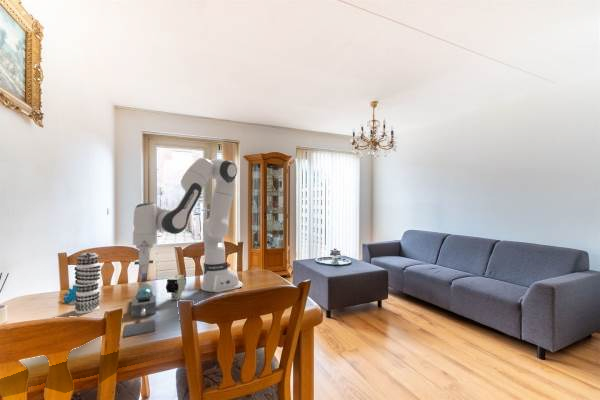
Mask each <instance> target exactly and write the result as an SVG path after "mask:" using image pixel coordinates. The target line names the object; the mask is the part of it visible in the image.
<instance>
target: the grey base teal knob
mask: <svg viewBox="0 0 600 400" xmlns="http://www.w3.org/2000/svg"><path fill="white" fill-rule="evenodd" d="M156 297H157V296H156V295H154V290H153V287H152V285H150V284H148V283H144V284H141V285H139V286H138V287H137V289H136V295H135V298H132V300H131V305H130V317H131V319H133V318H139V317H145V316H150V315H151V316H152V315H156V313H157V312H156V311H157V310H156V309H157V308H156V307H157V303H156V302H157V299H156Z"/></svg>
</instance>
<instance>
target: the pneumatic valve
mask: <svg viewBox="0 0 600 400" xmlns="http://www.w3.org/2000/svg"><path fill="white" fill-rule="evenodd" d="M186 286H187V278H186V275H185V274H175V275H173V276H171V277H169V278H168V279H167V280H166V285H165V289H166V293H168V294H169V293H171V295H170V296H171V297H170V300H171V301H178V300H180V299H181V298H182V297H181V296H182V290H183V289H184V288H186Z"/></svg>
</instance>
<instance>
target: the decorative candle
mask: <svg viewBox="0 0 600 400" xmlns="http://www.w3.org/2000/svg"><path fill="white" fill-rule="evenodd" d="M99 256H100V255H99V254H97V253H96V252H94V251H89V252H88V251H87V252H82V253H80V254H78V256H77V257H76V258H75V259H76V260H77V261H76V266H75V267H74V269H73V270H74V271H75V272H74V275H75V276H74V278H75V281H74V283H75V285H76V286H77V291H76V296H75V297H76V300H75V301H74V302H75V303H74V306H75V307H74V309H75V311H74V312H75V313H76V314H88V313H92V312H95V311H97V310H99V309H100V306H99V305H100V291H99V283H100V278H101V277H100V276H101V274H100V273H99V272H100V271H101V269H100V268H101V265H100V262H99Z"/></svg>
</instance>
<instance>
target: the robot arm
mask: <svg viewBox="0 0 600 400" xmlns="http://www.w3.org/2000/svg"><path fill="white" fill-rule="evenodd" d="M237 172H238V168H237V164H236V163H235V162H233V160H229V159H222V158H216V159H215V158H213V159H212V158H206V157H200V158H198V159H196V160H195V161H194V162H193V163H192V164H191V165H190V166H189V167H188V169H187V170H186V171H185V173H184V174H183V175H182V178H181V181H180V185H181V187H182V189H183V190H184V195H183V196H182V198H181V200H180V201H179V203H178V204H177V206H176V207H175V208H174V209H172V210H170V209H169V210H168V209H166V208H162V207H161V206H158V205H157V204H156V203H155V202H143V203H139V204H137V205H136V206H135V208H134V211H133V220H132V221H133V227H134V228H133V232H132V245H133V246H135V247H136V249H137V250H138V261H139V264H138V265H139V267H140V266H141V268H142V273H146V270H147V265H148V266H149V265H150V263H149V260H150V255H151V254H150V253H151V249H152V248H154V247H153V246H154V244H157V231H162V232H165V233H166V232H167V233H169V234H172V235H177V234H180V233H182V232H183V231H184V230H185V229H186V228H187V225H188V222H189V217H190V216H191V213H192V212H193V209H194V207H195V206H196V205H197V202H198V201H199V199H200V197H201V195H202V192H203V189H204V188H205V186H206V185H207V183H208V181H209V180H210V179H213V180H215V181H216V182H215V183H216V185H215V187H214V190H213V194H212V198H211V201H210V211H209V217H208V218H207V219H205V221H203V223H202V232H203V233H202V235H203V237H202V238H203V245H204V248H203V249H204V262H203V267H202V272H203V278H202V283H201V287H200V290H202V291H205V292H211V293H222V292H227V291H232V290H234V289H239V288H240V287H241V288H243V282H242V281H240V280H239V277H238V274H237V273H236V272H235V271H233V270H232V269H231V268H230V267H231V266H232V264H231V263H230V262H227V261H226V247H225V240H224V238H225V237H226V236H227V235H228V233H229V231H230V230H229V229H230V227H229V224H230V217H231V216H230V215H231V208H232V204H233V201H234V196H235V191H236V179H235V178H236V176H237V174H238V173H237ZM241 288H240V289H241Z"/></svg>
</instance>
